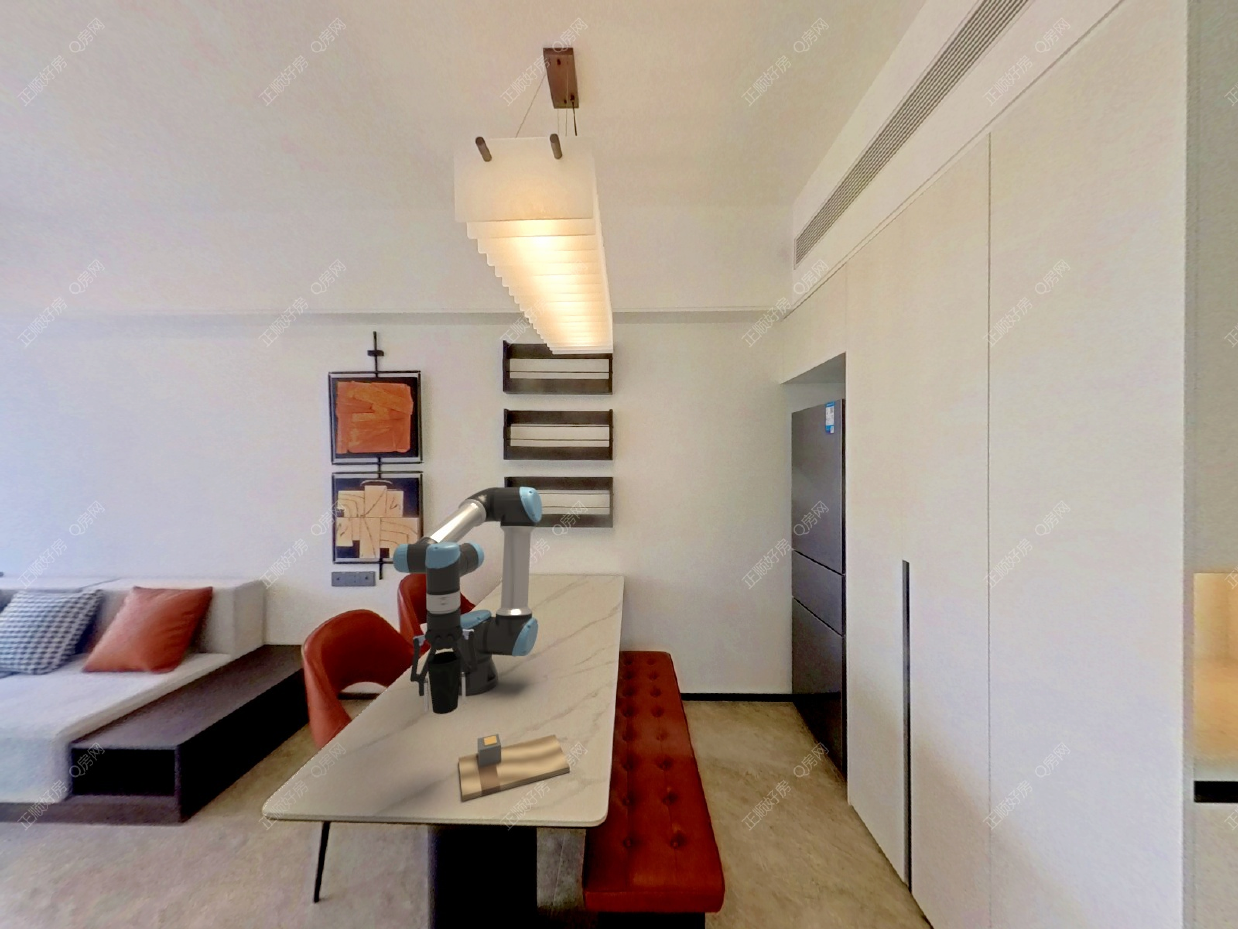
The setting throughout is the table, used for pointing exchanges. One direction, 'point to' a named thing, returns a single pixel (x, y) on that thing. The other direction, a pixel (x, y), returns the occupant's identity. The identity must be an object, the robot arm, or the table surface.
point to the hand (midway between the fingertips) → (445, 705)
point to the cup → (444, 681)
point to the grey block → (489, 750)
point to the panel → (512, 767)
